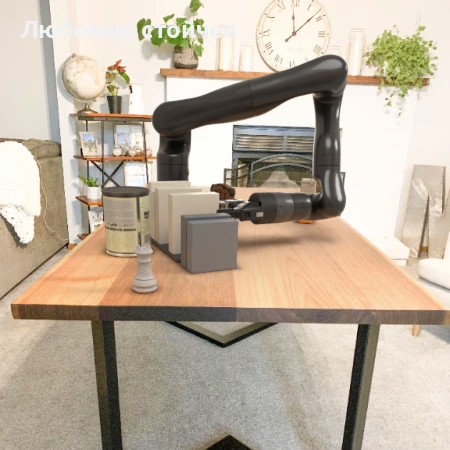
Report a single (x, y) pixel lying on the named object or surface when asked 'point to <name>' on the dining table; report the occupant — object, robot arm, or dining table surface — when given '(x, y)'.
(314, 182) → the supplement box
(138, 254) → the rook chess piece
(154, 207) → the white books
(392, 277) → the dining table surface
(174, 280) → the dining table surface
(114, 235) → the coffee can
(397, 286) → the dining table surface
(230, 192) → the wooden carving
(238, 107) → the robot arm
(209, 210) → the white book
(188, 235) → the grey books
